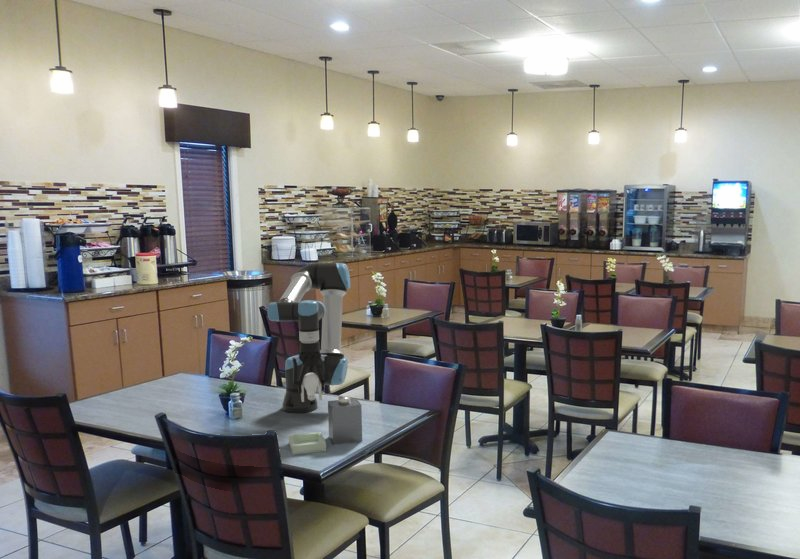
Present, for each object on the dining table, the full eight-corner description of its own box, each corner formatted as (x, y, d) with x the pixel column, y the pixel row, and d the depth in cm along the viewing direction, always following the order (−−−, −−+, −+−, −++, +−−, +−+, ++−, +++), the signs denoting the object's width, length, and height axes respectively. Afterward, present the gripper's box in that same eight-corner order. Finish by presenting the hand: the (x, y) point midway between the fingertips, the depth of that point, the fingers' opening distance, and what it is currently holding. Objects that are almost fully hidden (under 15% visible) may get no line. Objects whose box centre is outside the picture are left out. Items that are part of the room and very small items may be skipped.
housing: (328, 436, 261) (327, 395, 260) (356, 433, 264) (355, 393, 263) (333, 444, 252) (331, 402, 251) (362, 441, 255) (361, 399, 254)
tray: (288, 443, 254) (288, 435, 254) (320, 440, 258) (320, 432, 257) (292, 454, 243) (292, 446, 243) (326, 450, 246) (326, 442, 246)
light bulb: (316, 403, 260) (316, 375, 259) (300, 402, 261) (299, 374, 260) (322, 398, 267) (321, 371, 265) (306, 397, 268) (305, 370, 266)
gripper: (285, 345, 255) (287, 405, 258) (335, 341, 260) (337, 400, 263) (283, 341, 262) (285, 399, 265) (332, 337, 267) (334, 394, 270)
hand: (311, 399), depth 264 cm, fingers closed on light bulb, 6 cm apart
